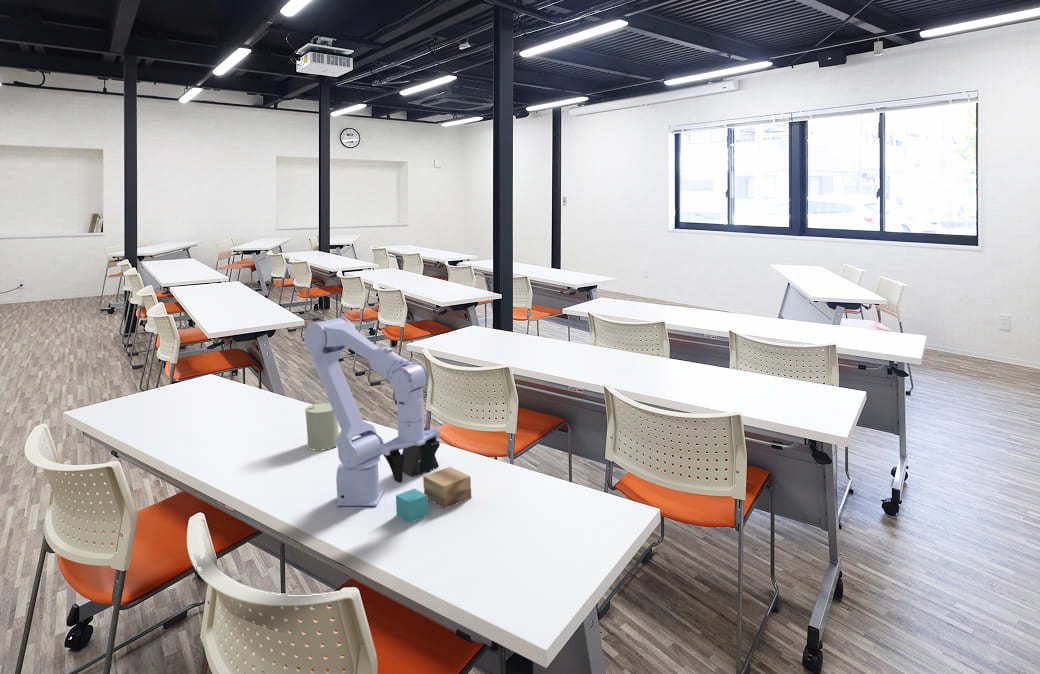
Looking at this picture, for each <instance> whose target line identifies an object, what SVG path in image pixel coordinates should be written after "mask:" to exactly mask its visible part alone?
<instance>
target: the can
mask: <svg viewBox="0 0 1040 674" xmlns="http://www.w3.org/2000/svg"><path fill="white" fill-rule="evenodd" d="M304 411H305V419H306V420H305V421H306V435H307V445H308V447H309V448H311V449H315V450H314V451H316V450H322V449H329V448H333V447H335V446H337V445H336V439H337V438H338V436H339V434H340V431H339V427H340V426H339V423H338V421H337V418H336V416H335V414H334V411H333V409H332V406H331V404H330V402H327V403H326V402H323V403H321V402H320V403H314V404H312V405H311V404H310V405H308V406H307V407H305V409H304ZM308 447H307V448H308ZM309 448H308V449H309ZM335 448H336V447H335ZM311 449H310V450H311ZM333 449H334V448H333ZM329 450H330V449H329Z"/></svg>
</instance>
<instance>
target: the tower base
mask: <svg viewBox="0 0 1040 674" xmlns="http://www.w3.org/2000/svg"><path fill="white" fill-rule="evenodd" d="M423 492H424V494H425V495H427V498H428V499H429V500H428V499H427V500H428V501H430V500H431V501H433V502H435V503H436V504H435V503H434V504H435V505H437V504H438V505H437V506H439V505H440V506H439V507H441V506H442V507H444V508H446V507H448V508H449V506H450V507H453V506H455V505H457V504H456V503H458V504H460V503H462V502H461V501H463V502H464V500H465V501H466V499H467V500H469V498H470V499H472V487H471V488H469V489H467V490H464V491H462V492H459V493H457V494H454V495H452V496H449V497H447V498H442V497H440V496H438V495H436V494H434V493H433V492H431V491H429V490H427V489H425V488H424V487H423ZM431 501H430V502H431ZM433 502H432V503H433ZM459 502H460V503H459ZM454 504H455V505H454ZM452 505H453V506H452ZM442 507H441V508H442ZM444 508H443V509H444ZM446 509H447V508H446Z"/></svg>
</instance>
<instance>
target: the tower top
mask: <svg viewBox="0 0 1040 674" xmlns="http://www.w3.org/2000/svg"><path fill="white" fill-rule="evenodd" d="M422 478H423V480H422V481H423V483H422V484H423V489H424V488H425V489H427V490H429V491H431V492H433V493H434V494H436V495H438V496H440V497H442V498H447V497H449V496H452V495H454V494H457V493H459V492H462V491H464V490H467V489H469V488H471V489H472V487H471V486H472V485H471V484H472V483H471V475H468V474H466V473H464V472H462V471H460V470H458V469H456V468H453V467H452V466H448V467H445V468H442V469H440V470H436V471H433V472H432V473H431V472H430V473H428V474H426V475H424V476H423V477H422Z"/></svg>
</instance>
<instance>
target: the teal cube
mask: <svg viewBox="0 0 1040 674" xmlns="http://www.w3.org/2000/svg"><path fill="white" fill-rule="evenodd" d="M395 504H396V505H395V506H396V507H395V508H396V516H397V517H398V516H399V518H400V517H401V518H400V519H402V518H403V519H404V521H405V520H406V521H405V522H407V523H408V522H409V523H408V524H411V523H413V522H415V521H414V520H416V521H418V520H420V519H419V518H421V519H423V518H425V517H424V516H426V515H428V516H429V513H428V508H429V507H428V499H427V495H425V494H424V493H423V492H421V491H420V490H418V489H417V488H412V489H410V490H406V491H404V492H401V493H397V494H395ZM422 517H423V518H422ZM426 517H427V516H426ZM403 519H402V520H403ZM417 519H418V520H417ZM412 521H413V522H412ZM410 522H411V523H410Z"/></svg>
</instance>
